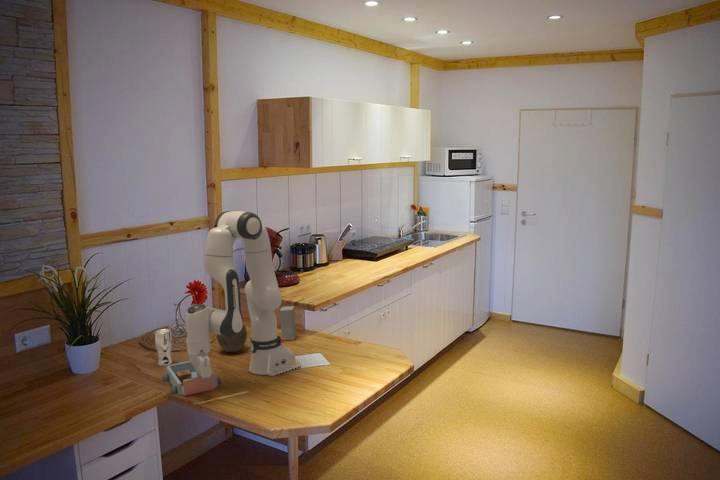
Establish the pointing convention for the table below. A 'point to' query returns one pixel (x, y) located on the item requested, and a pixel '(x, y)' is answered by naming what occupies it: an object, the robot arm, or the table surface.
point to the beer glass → (163, 346)
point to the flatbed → (175, 381)
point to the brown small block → (183, 375)
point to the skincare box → (288, 323)
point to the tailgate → (198, 385)
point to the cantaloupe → (233, 341)
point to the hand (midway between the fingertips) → (200, 380)
